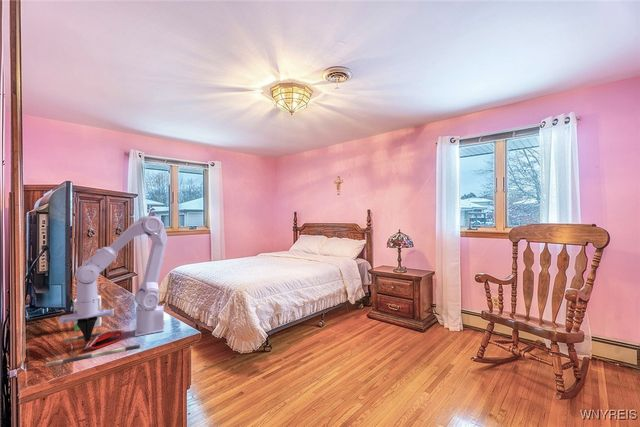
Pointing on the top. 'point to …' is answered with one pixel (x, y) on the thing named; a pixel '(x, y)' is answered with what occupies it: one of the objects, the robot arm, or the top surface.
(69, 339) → the track
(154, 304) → the robot arm
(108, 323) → the top surface
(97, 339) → the tracker holder
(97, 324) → the ink box
